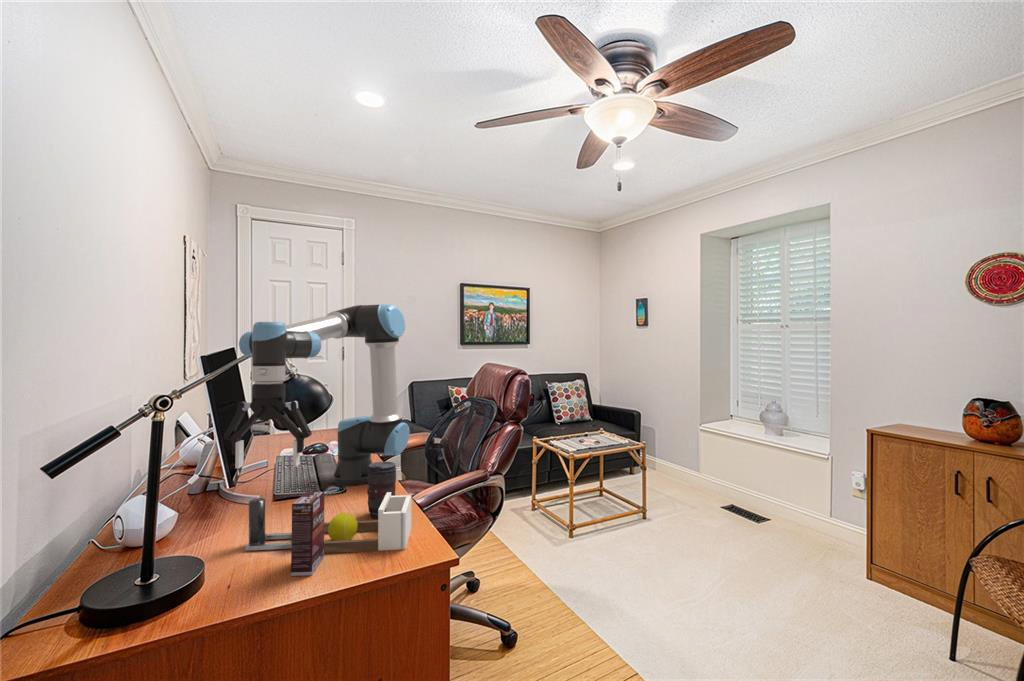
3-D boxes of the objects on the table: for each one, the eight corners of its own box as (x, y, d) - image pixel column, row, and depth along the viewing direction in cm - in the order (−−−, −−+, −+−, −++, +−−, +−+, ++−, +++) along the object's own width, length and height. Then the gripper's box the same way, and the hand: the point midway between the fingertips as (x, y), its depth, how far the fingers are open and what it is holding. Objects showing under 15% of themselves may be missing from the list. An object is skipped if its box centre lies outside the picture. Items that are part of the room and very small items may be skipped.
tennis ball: (322, 545, 115) (322, 517, 115) (340, 533, 122) (340, 507, 122) (345, 548, 113) (345, 520, 113) (362, 537, 120) (362, 510, 120)
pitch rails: (322, 531, 123) (322, 522, 123) (386, 528, 125) (386, 519, 125) (306, 554, 110) (306, 544, 110) (378, 550, 112) (378, 540, 112)
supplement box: (312, 576, 100) (312, 503, 100) (290, 577, 99) (290, 504, 99) (325, 557, 108) (325, 490, 108) (304, 558, 108) (304, 491, 108)
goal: (386, 528, 125) (386, 492, 125) (411, 527, 126) (411, 491, 126) (378, 550, 112) (378, 509, 112) (405, 549, 113) (405, 508, 113)
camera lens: (388, 521, 130) (388, 468, 130) (362, 519, 132) (362, 467, 132) (400, 510, 138) (400, 461, 138) (376, 508, 140) (376, 460, 140)
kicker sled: (256, 537, 119) (256, 495, 119) (310, 535, 120) (310, 493, 120) (241, 551, 111) (241, 506, 111) (300, 548, 112) (300, 504, 112)
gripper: (208, 384, 110) (207, 472, 110) (316, 383, 113) (315, 468, 113) (223, 381, 118) (222, 464, 117) (324, 381, 121) (323, 461, 121)
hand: (268, 466), depth 115 cm, fingers open, 13 cm apart
